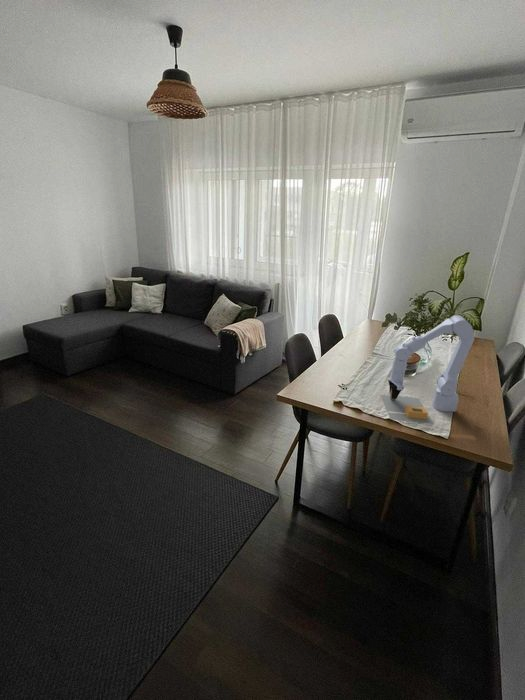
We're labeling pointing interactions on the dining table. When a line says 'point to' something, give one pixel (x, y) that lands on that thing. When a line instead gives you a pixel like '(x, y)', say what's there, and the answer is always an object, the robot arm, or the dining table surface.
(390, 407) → the floor panel
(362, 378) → the dining table surface
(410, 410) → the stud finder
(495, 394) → the dining table surface
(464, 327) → the robot arm
